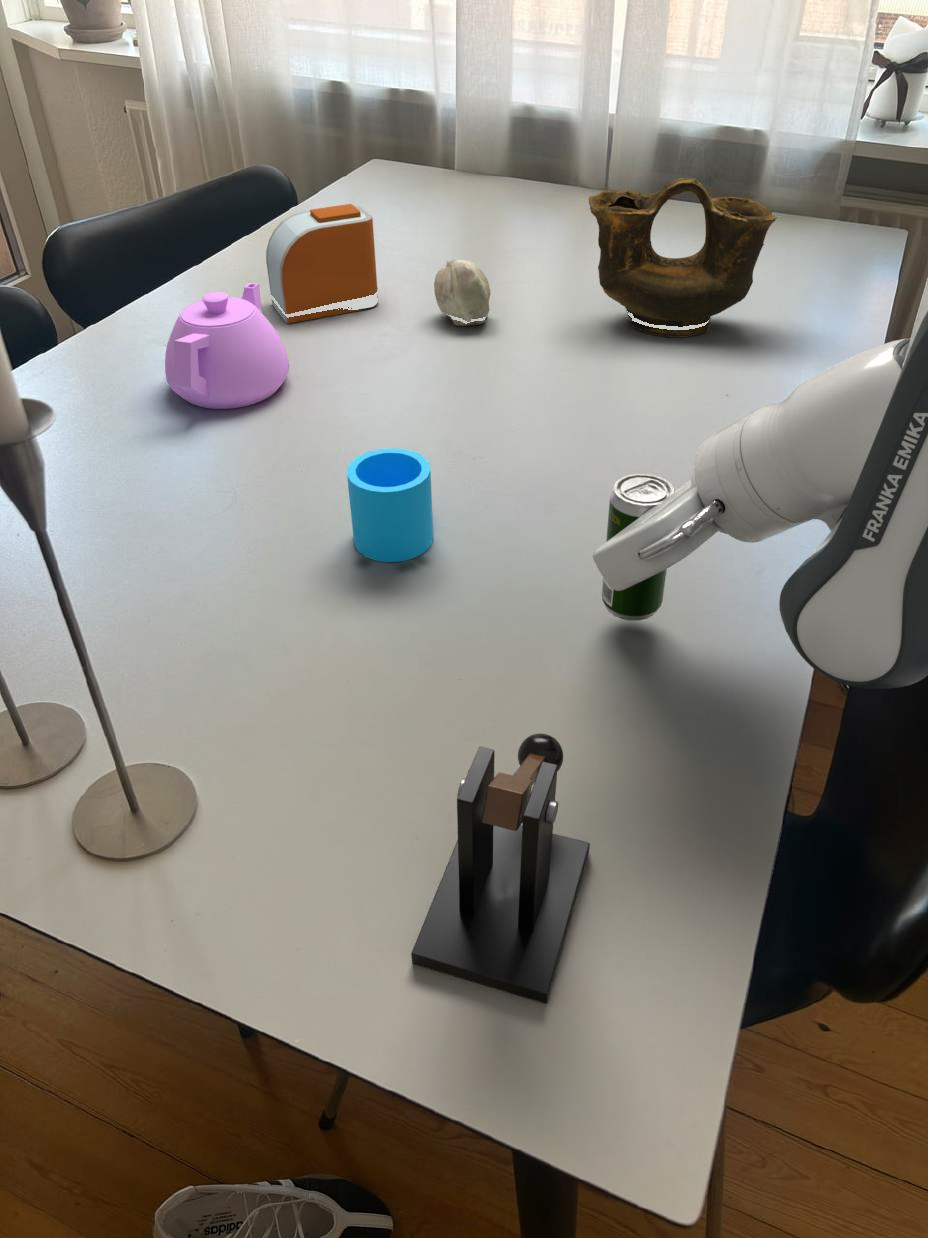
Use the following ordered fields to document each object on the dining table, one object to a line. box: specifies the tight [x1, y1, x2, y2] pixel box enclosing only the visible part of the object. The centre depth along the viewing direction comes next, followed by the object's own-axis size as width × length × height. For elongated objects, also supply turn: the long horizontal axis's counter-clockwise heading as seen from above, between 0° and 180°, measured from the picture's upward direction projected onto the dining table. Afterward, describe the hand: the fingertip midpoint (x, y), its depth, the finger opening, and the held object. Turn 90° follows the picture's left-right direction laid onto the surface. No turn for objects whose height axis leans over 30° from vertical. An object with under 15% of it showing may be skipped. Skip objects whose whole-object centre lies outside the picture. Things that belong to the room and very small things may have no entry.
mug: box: [346, 447, 434, 563], centre depth 98 cm, size 12×8×8 cm
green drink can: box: [601, 473, 675, 622], centre depth 83 cm, size 5×5×12 cm
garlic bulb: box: [433, 258, 491, 327], centre depth 138 cm, size 9×8×10 cm
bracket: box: [410, 746, 591, 1005], centre depth 61 cm, size 12×9×13 cm
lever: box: [482, 732, 564, 831], centre depth 63 cm, size 13×3×3 cm
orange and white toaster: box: [265, 203, 378, 325], centre depth 142 cm, size 15×8×14 cm, turn 115°
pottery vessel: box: [588, 177, 778, 338], centre depth 133 cm, size 25×11×20 cm, turn 80°
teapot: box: [164, 282, 290, 410], centre depth 122 cm, size 22×16×12 cm
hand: (631, 540), depth 83 cm, fingers closed on green drink can, 5 cm apart
